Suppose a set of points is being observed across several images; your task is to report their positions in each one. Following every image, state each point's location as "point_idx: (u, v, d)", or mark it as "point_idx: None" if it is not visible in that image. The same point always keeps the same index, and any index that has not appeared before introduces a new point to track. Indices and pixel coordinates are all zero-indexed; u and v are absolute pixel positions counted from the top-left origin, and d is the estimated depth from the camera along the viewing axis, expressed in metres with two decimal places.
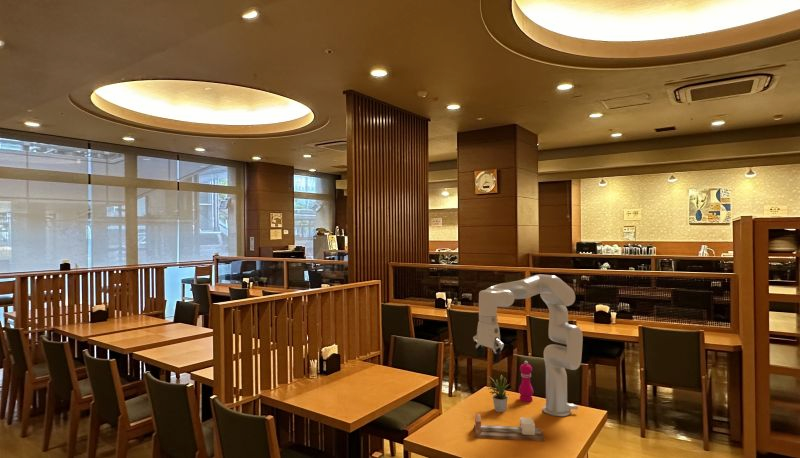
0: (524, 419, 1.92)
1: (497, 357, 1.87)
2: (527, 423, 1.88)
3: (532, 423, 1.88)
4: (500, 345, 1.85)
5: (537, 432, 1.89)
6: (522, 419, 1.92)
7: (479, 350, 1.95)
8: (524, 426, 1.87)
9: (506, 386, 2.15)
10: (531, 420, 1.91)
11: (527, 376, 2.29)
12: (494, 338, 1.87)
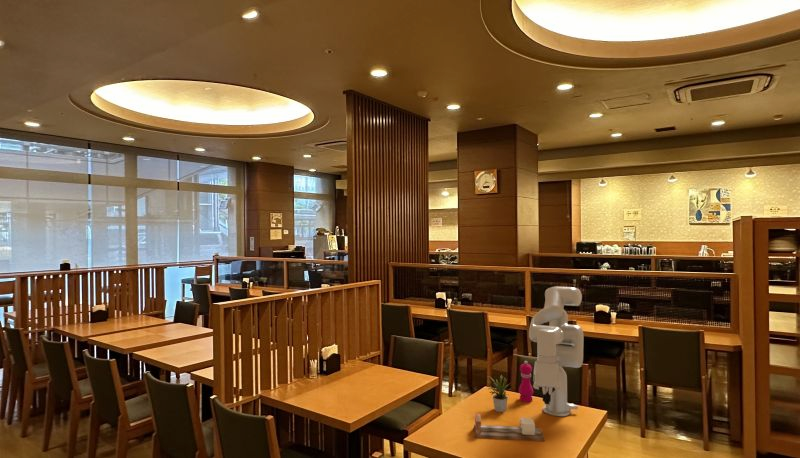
0: (524, 419, 1.92)
1: None
2: (527, 423, 1.88)
3: (532, 423, 1.88)
4: (557, 388, 1.88)
5: (537, 432, 1.89)
6: (522, 419, 1.92)
7: None
8: (524, 426, 1.87)
9: (506, 386, 2.15)
10: (531, 420, 1.91)
11: (527, 376, 2.29)
12: (559, 377, 1.88)
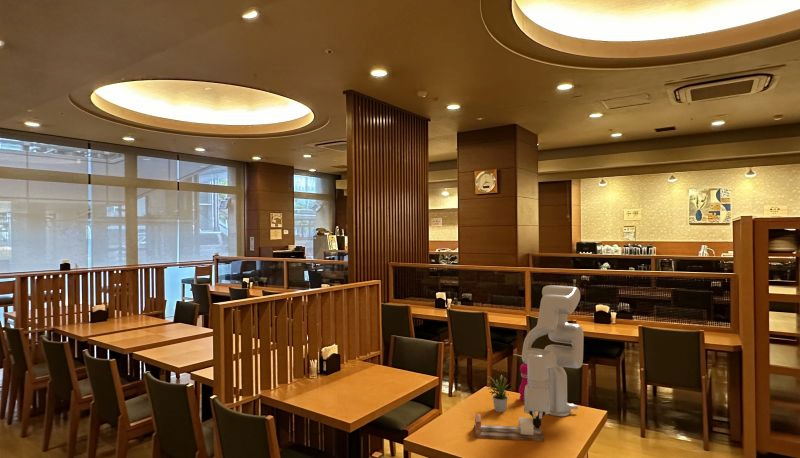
0: (523, 419, 1.92)
1: (540, 421, 1.90)
2: (526, 423, 1.88)
3: (531, 423, 1.88)
4: (548, 412, 1.89)
5: (537, 432, 1.89)
6: (521, 419, 1.92)
7: None
8: (522, 426, 1.87)
9: (506, 386, 2.15)
10: (530, 420, 1.91)
11: (527, 376, 2.29)
12: (549, 401, 1.89)
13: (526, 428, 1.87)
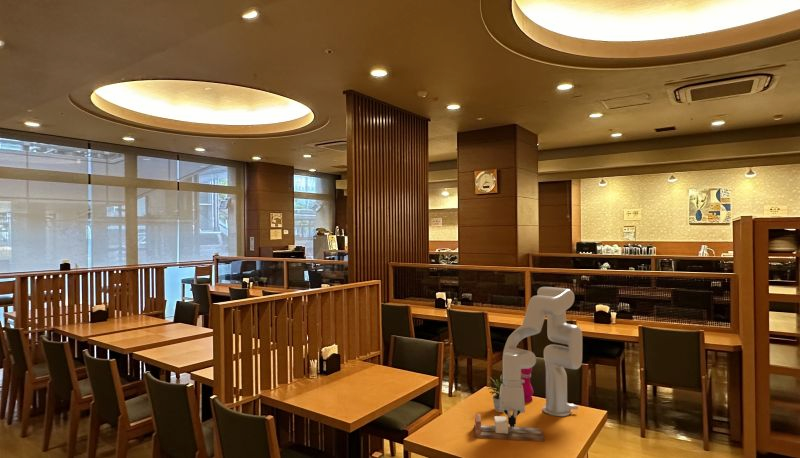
0: (498, 418, 1.93)
1: (515, 420, 1.91)
2: (500, 422, 1.89)
3: (506, 422, 1.89)
4: (522, 411, 1.90)
5: (537, 432, 1.89)
6: (496, 418, 1.93)
7: None
8: (497, 425, 1.89)
9: None
10: (505, 419, 1.92)
11: (527, 376, 2.29)
12: None
13: (501, 427, 1.88)
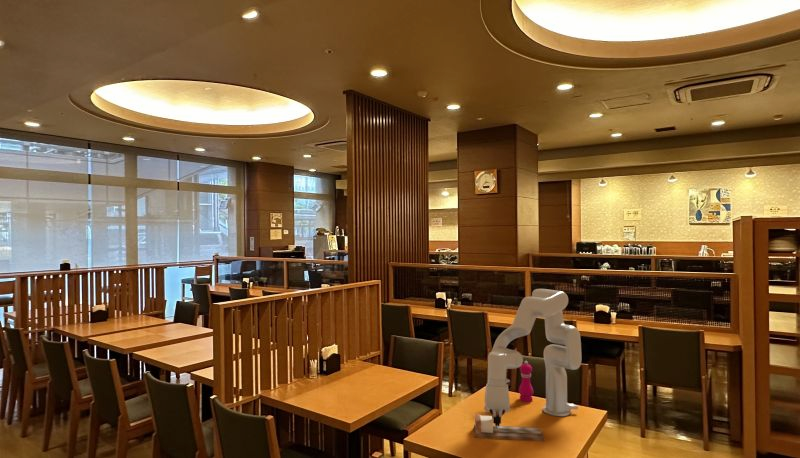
0: (483, 417, 1.94)
1: (500, 419, 1.92)
2: (486, 421, 1.90)
3: (491, 421, 1.90)
4: (508, 410, 1.91)
5: (537, 432, 1.89)
6: (481, 417, 1.94)
7: (497, 418, 1.91)
8: (482, 424, 1.89)
9: None
10: (490, 418, 1.93)
11: (527, 376, 2.29)
12: None
13: (486, 426, 1.89)
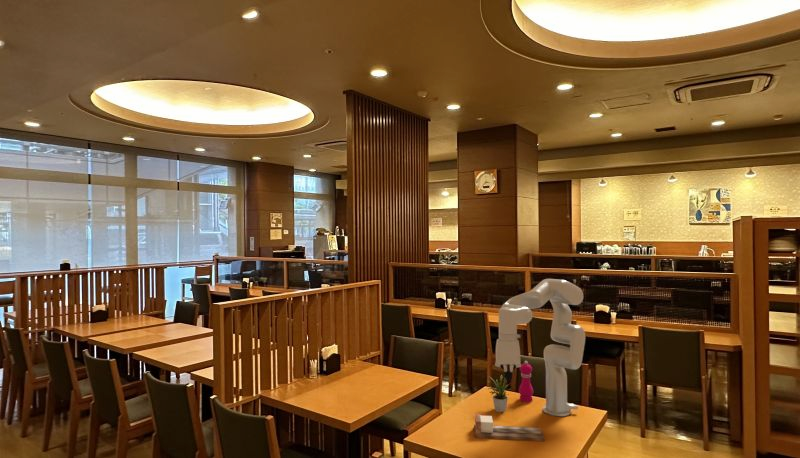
0: (483, 417, 1.94)
1: (511, 375, 1.92)
2: (486, 421, 1.90)
3: (491, 421, 1.90)
4: (519, 365, 1.91)
5: (537, 432, 1.89)
6: (481, 417, 1.94)
7: (508, 373, 1.91)
8: (482, 424, 1.89)
9: (506, 386, 2.15)
10: (490, 418, 1.93)
11: (527, 376, 2.29)
12: None
13: (486, 426, 1.89)
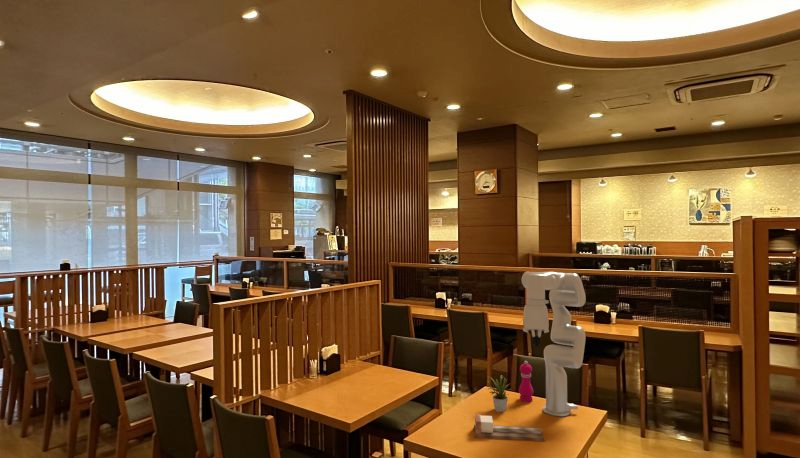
0: (483, 417, 1.94)
1: (539, 340, 1.92)
2: (486, 421, 1.90)
3: (491, 421, 1.90)
4: (547, 330, 1.92)
5: (537, 432, 1.89)
6: (481, 417, 1.94)
7: None
8: (482, 424, 1.89)
9: (506, 386, 2.15)
10: (490, 418, 1.93)
11: (527, 376, 2.29)
12: None
13: (486, 426, 1.89)
